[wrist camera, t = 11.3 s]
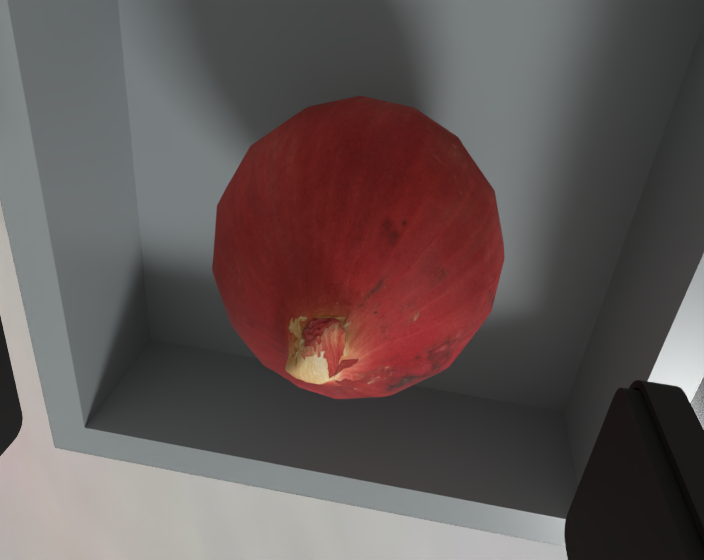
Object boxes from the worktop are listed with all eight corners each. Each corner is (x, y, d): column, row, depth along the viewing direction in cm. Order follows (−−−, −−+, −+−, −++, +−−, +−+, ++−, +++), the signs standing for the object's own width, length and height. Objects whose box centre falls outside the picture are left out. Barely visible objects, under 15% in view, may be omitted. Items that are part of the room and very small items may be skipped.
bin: (582, 419, 20) (613, 556, 16) (137, 341, 21) (55, 447, 17) (799, -144, 12) (978, -176, 8) (77, -211, 13) (-103, -270, 9)
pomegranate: (536, 218, 16) (596, 447, 9) (352, 313, 18) (288, 554, 11) (412, 13, 14) (366, 102, 7) (224, 149, 16) (49, 319, 9)
